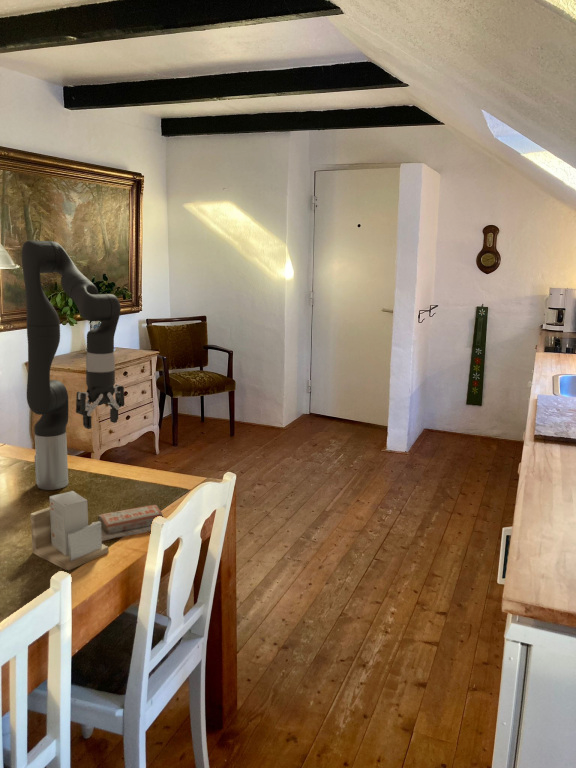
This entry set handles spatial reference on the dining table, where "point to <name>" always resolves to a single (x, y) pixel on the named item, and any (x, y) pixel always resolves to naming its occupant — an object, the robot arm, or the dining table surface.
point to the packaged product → (127, 521)
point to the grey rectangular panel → (84, 541)
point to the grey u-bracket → (47, 550)
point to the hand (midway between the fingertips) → (101, 425)
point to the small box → (66, 518)
